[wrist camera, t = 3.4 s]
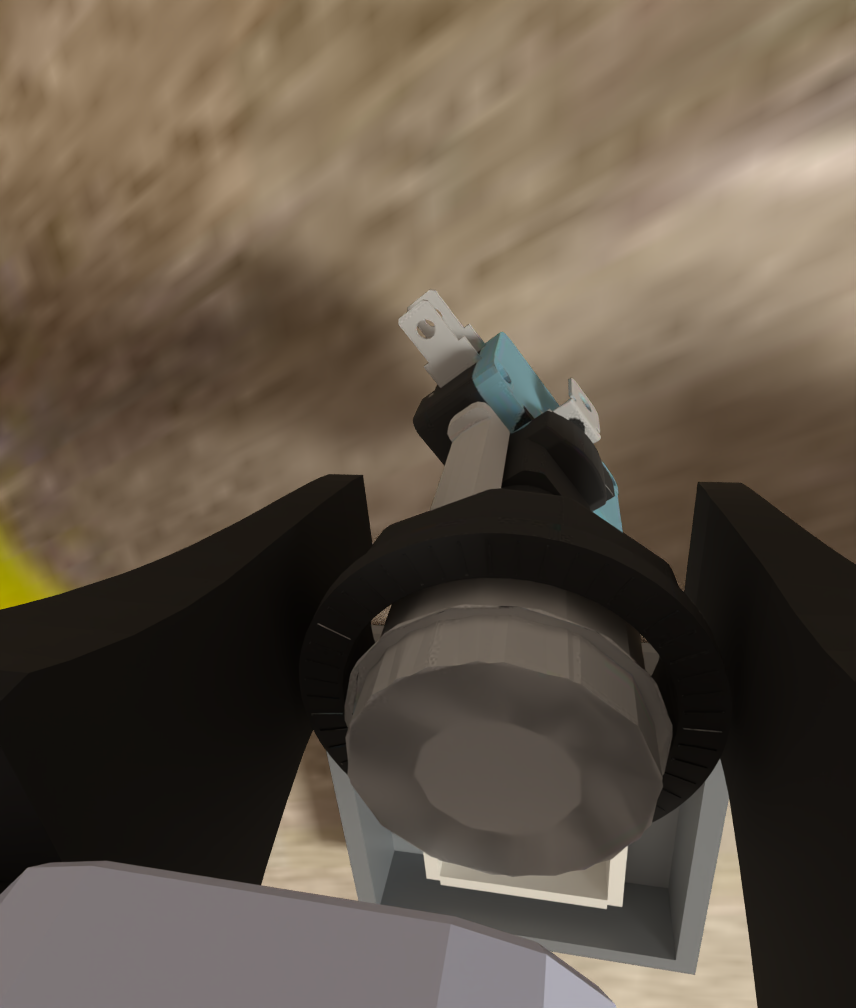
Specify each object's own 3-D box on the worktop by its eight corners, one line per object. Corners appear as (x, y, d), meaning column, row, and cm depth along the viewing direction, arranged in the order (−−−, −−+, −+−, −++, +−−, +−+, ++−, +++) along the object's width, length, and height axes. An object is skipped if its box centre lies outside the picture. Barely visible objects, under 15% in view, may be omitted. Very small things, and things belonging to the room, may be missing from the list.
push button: (340, 359, 16) (93, 639, 8) (526, 209, 14) (467, 370, 5) (506, 556, 18) (457, 953, 10) (692, 452, 16) (843, 852, 7)
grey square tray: (723, 647, 24) (742, 723, 21) (684, 891, 31) (695, 974, 28) (343, 623, 27) (312, 686, 24) (382, 849, 33) (362, 920, 30)
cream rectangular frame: (634, 691, 25) (637, 733, 23) (619, 865, 30) (621, 911, 28) (416, 674, 27) (404, 712, 25) (436, 841, 32) (427, 882, 30)
